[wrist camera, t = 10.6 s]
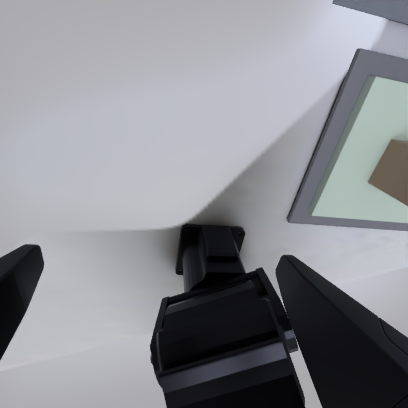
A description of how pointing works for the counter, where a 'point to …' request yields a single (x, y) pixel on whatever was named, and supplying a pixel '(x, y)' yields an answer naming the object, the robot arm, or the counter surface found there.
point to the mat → (352, 86)
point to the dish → (379, 8)
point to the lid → (370, 159)
